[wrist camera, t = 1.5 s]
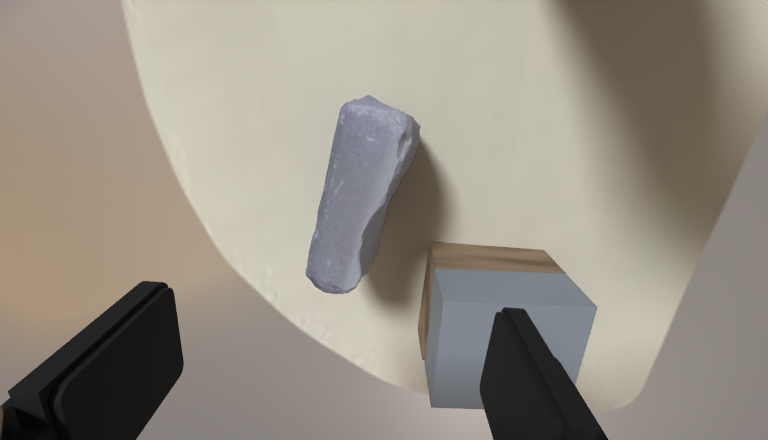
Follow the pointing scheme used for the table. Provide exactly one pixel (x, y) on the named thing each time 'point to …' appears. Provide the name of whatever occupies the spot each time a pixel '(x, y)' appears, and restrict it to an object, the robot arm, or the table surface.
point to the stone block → (359, 191)
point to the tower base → (476, 260)
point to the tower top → (475, 320)
